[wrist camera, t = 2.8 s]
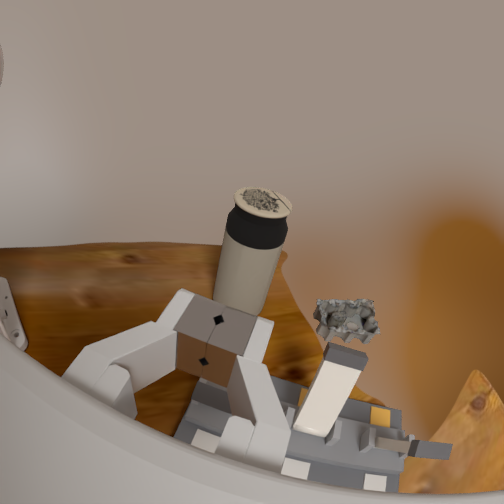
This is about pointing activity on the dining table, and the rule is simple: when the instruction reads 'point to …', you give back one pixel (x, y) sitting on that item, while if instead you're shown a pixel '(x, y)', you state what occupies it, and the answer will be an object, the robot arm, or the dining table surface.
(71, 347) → the dining table surface
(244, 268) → the travel mug
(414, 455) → the lever outer
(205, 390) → the lever inner
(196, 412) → the switch panel
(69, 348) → the dining table surface
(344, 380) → the lever middle
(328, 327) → the egg carton
